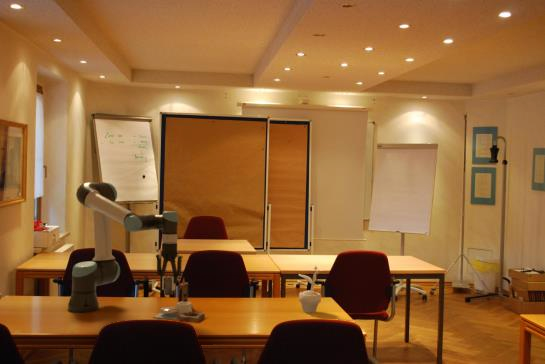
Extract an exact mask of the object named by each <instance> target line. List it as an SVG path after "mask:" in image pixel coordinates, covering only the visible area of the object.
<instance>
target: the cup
mask: <svg viewBox="0 0 545 364" xmlns="http://www.w3.org/2000/svg"><path fill="white" fill-rule="evenodd" d="M192 303H193V302H192V301H191V302H190V301H188V302H182V301H181V302H179V303H178V302H177V303H176V305H175V307H176V309H179V312H178V313H176V315H181V314H182V313H188V312H193V309H192V308H193V307H192V306H193V304H192ZM187 316H188V314H187Z"/></svg>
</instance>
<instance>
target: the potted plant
mask: <svg viewBox="0 0 545 364" xmlns="http://www.w3.org/2000/svg"><path fill="white" fill-rule="evenodd" d="M313 269H314V271H315V272H313V275H312V278H311V277H310V276H308V275H305V274H300V273H298V276H299V277H301V278H303V279H304V280H306V281H307V282H308V283H309V284H310V285H311V286H310V290H309V289H308V290H304V291H301V292H299V295H298V298H299V299H298V301H299V302H300V304H301V308H302V312H304V313H305V314H315V313H316V312H317V308H318V306H319V304H320V303H321V302H322V294H321V293H320V292H317V291H314V285H315V284H314V283H315V282H317V281H316V280H317V274H319V270H318V269H319V268H318V267H317V266H315V267H313Z"/></svg>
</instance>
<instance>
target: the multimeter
mask: <svg viewBox="0 0 545 364" xmlns="http://www.w3.org/2000/svg"><path fill="white" fill-rule="evenodd" d="M185 271H186V273H188V272H187V269H184V270H183V271H181V274H182V276H183V277H182V282H181V281H180V280H181V275H180V276H178V277H179V278H178V279H179V280H178V291H177V292H178V294H177V295H178V296H177V297H178V298H177V303H179V302H181V301H182V302H189V300H188V299H189V298H188V297H189V282H188V281H187V280H188V279H187V278H188V274H186V278H185ZM185 281H186V282H185ZM180 282H181V283H180ZM192 310H195V311H196V309H195V308H194V307H193V305H192Z"/></svg>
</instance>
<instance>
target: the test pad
mask: <svg viewBox="0 0 545 364" xmlns="http://www.w3.org/2000/svg"><path fill="white" fill-rule="evenodd" d="M159 311H160V312H159V313H162V314H176V313H178V312H179V309H176V306H164V307H160V309H159Z"/></svg>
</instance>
